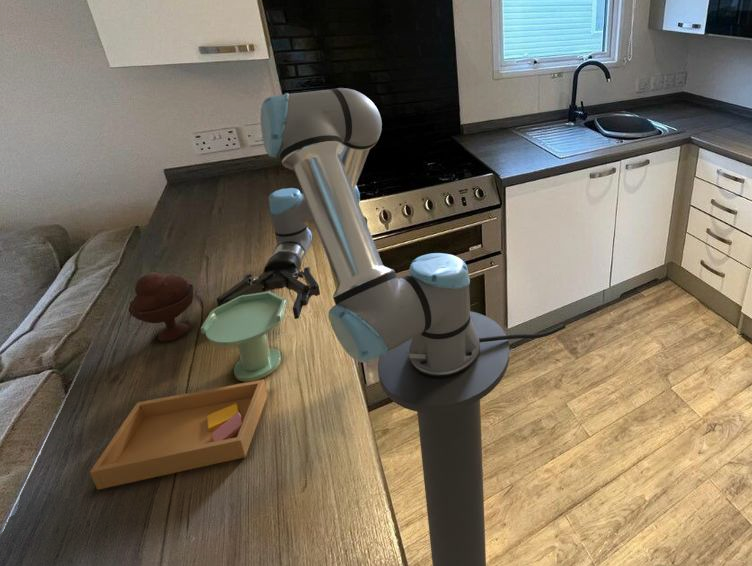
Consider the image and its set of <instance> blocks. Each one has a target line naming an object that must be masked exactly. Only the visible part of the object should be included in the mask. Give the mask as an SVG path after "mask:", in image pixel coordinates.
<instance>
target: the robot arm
mask: <svg viewBox="0 0 752 566" xmlns="http://www.w3.org/2000/svg"><path fill="white" fill-rule="evenodd" d="M259 117H260V129H261V130H260V131H261V136H262V142H263V143H262V144H263V147H264V151H265V152H266V153H267V156H268V157H270V158H278V157H279V160H280V161H281V164H282V166H283V167H284V168H286V169H288V170H291V171H293V172H294V174H295V176H296V179H297V181H298V184H299V186H300V189H301V191H300V190H299V189H298V188H296V187H295V188H294V187H288V188H281V189H277V190H275V191H274V192H272V193H271V194H270V195H269V196H268V206H269V213H270V217H271V220H272V223H273V229H274V236H275V241H276V246H275V248H274V249H273V250H272V253H271V254H270V257H269V259H268V261H267V262H266V264H265V266H264V268H263V272H262V273H261V274H260V275H259V276H253V274H251V273H249V274H247V275H245V277H244V278H243V279H242V280H240V281H239V282H237V284H235V285H234V286H231V288H229V289H228V290H226V291H225V292H224V293H222V294H221V295H220V296H218V297H216V299H215V300H216V303H217V307H219V306H221V305H223V304H225V303H227V302H229V301H231V300H233V299H235V298H237V297H239V296H241V295H248V294H255V293H262V292H269V291H272V290H280V289H284V288H286V289H288V290H289V291H293V292H295V293H296V294H297V295H296V298H295V300H294V304H293V306H292V312H293V317H294V320H298V319H299V318H300V316H301V312H302V310H303V307H304V306H308V304H309V302H310V299H311V298H312V297H313V296H315V297H318V296H320V295H321V290H320V285H319V283H318V282H317V280H316V279H315V278H314V276H313V275H312V273H311V269H310V267H309V266H307V267H304V268H303V270H301V268H302V266H303V263H304V260H305V258H306V255H307V253H308V251H309V249H310V247H311V244H312V239H313V232H312V230H310V229H309V228H308V227H307V222H308V221H312V220H313V223H314V226H315V229H316V231H317V234H318V237H319V239H320V242H321V244H322V247H323V249H324V253H325V255H326V257H327V260H328V263H329V266H330V268H331V271H332V273H333V276H334V278H335V282H336V283H337V285H336V289H335V291H334V293H333V295H332V299H333V301H334V305H332V307H331V308H330V309H329V310H328V319H329V321H330V326H331V329H332V330H333V333H334V335H335V337H336V339H337V340H338V342H339V344H340V345H341V347H342V348H343V350H344V351H345V352H346V354H347V355H348V356H350V358H352V359H353V360H354V361H355V362H358V363H361V364H362V363H363V364H364V363H369V362H371V361H373V360H375V359H377V358H379V356H381V355H385V354H387V353H388V351H390V350H392V349H394V348H396V347H397V346H399V345H401V344H403V343H405V342H406V341H408V340H410V339H412V341H411V345H410V349H409V358H410V362H411V365H412V367H413V368H414V370H415V371H416V372H418V373H419V374H421V375H423V376H425V377H429V378H435V379H443V378H449V377H453V376H456V375H459V374H461V373H463V372H464V371H466V370H467V369H469V368H470V367H471V366H472V365H473V364H474V363H475V361H476V360H477V358H478V356H479V353H480V342H488V341H498V340H507V339H508V340H516V339H517V340H519V339H520V340H521V339H541V338H545V337H548V336H552V335H554V334H556V333H558V332H561V331H562V330H565V329H566V324H560V325H558V326H556V327H554V328H553V329H550V330H548V331H544V332H539V333H516V334H506V335H504V336H494V337H484V338H479V337H478V334H477V332H476V330H475V327H474V325H473V323H472V321H471V318H470V311H471V295H470V284H471V279H470V274H469V268H468V265H467V264H466V262H465V261H464V260H463V259H461V258H460V257H458V256H457V255H454V254H451V253H450V254H449V253H442V252H433V253H427V254H423V255H420V256H417V257H416V258H415V259H414V260H412V262H411V264H410V266H409V273H408V274H406V275H404V276H401V277H397V274H396V273H397V272H396V271H395V269H394V268H390V267H388V266H385V265H384V264H383V261H382V259H381V257H380V253H379V251H378V249H377V246H376V243H375V241H374V239H373V236H372V233H371V230H370V229H369V226H368V224H367V221H366V219H365V216H364V214H363V212H362V208H361V206H360V202H361V194H360V191H359V188H358V185H357V184H358V181H359V179H360V176H361V175H362V171H363V169H364V165H365V163H366V161H367V157H368V155H369V154H370V153H369V152H370V150H371V149H372V148H373V147H375V146H376V145H377V143H378V141H379V139H380V136H381V133H382V129H383V128H382V126H383V122H382V117H381V114H380V111H379V109H378V108H377V106H376V105H375V103H374V102H373V101H372V99H370V98H369V97H367V96H366V95H365V94H363V93H361V92H360V91H357V90H355V89H351V88H347V87H346V88H344V87H338V88H330V89H320V90H313V91H303V92H294V93H288V92H285V93H284V94H278V95H271V96H268V97H266V98H265V99H264V100H263V102H262V103H261V106H260V116H259ZM301 192H302V193H301ZM299 278H301V279H302V281H300V280H299ZM303 281H304V282H305V283H304V282H303Z"/></svg>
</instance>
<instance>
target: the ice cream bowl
mask: <svg viewBox="0 0 752 566" xmlns="http://www.w3.org/2000/svg"><path fill="white" fill-rule="evenodd" d="M134 292H135V296H134V297H133V299H132V300H130V302H129V307H128V312H129V314H130V315H131V316H132V318H135V319H136V320H139V321H142V322H145V323H148V324H160V323H164V324H165V327H164V328H162V329H161V331H159V332H158V335H157V336H158V337H157V340H158V341H160V342H163V343H164V342H169V341H175V340H176V339H179V338H181V337H183V336H184V335H186V333H188V332H189V330H190V329H189V328H190V325H189V324H187V323H184V322H176V318H178V317H179V316H181V315H182V314H183V313H184V312H185V311H187V310H188V308H189V307H190V306H191V305H192V303H193V300H194V285H193V284H191V283H189V282H188V280H187V279H185V278H184V277H182V276H180V275H174V274H172V275H171V274H170V275H166V274H165V273H162V272H155V271H154V272H153V271H152V272H149V273H146V274H144V275H142V276H141V277H140V278H139V279H138V280H137V281H136V284H135V288H134Z"/></svg>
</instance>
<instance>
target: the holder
mask: <svg viewBox="0 0 752 566" xmlns="http://www.w3.org/2000/svg"><path fill="white" fill-rule="evenodd" d="M268 394H269V393H268V389H267V385H266V382H265V379H263V378H262V379H258V380H255V381H250V382H243V383H236V384H231V385H226V386H220V387H215V388H209V389H203V390H197V391H193V392H188V393H182V394H176V395H171V396H165V397H159V398H154V399H148V400H143V401H138V402H136V403H135V405H134V407H133V408H132V409H131V411H130V412H129V414H128V415H127V417H126V418H125V420H124V421H123V423H122V424H121V425H120V427H119V428H118V430H117V431H116V432H115V434H114V436H113V437H112V439H111V440H110V442H109V443H108V444H107V446H106V447H105V449H104V450H103V452H102V453H101V455H100V456H99V458H98V459H97V461H96V462H95V463H94V465H93V467H92V468H91V470H90V471H89V474H90V476H91V478H92V480H93V482H94V485H95V488H96V489H97V490H103V489H108V488H112V487H117V486H122V485H126V484H130V483H134V482H139V481H143V480H149V479H153V478H158V477H162V476H167V475H172V474H175V473H180V472H184V471H185V472H186V471H190V470H194V469H199V468H204V467H207V466H212V465H216V464H221V463H226V462H229V461H234V460H238V459H243V458H246V457H247V454H248V451H249V448H250V445H251V443H252V440H253V437H254V435H255V431H256V429H257V426H258V423H259V421H260V418H261V415H262V413H263V410H264V407H265V404H266V401H267V398H268ZM235 403H237V406H238V411H239V413H240V414H241V416H242V419H243V423H242V425H241V428H240V430H239V431H238V432H237V433H236V434H235V435H233V436H232V437H231V438H230V439H226V440H221V441H217V442H214V440H213V437H212V432H214V431H215V430H216V429H214V430H212V431H210V432H209V430H208V424H207V415H210V414H212V413H214V412H217V411H219V410H221V409H223V408H226V407H228V406H230V405H232V404H235Z"/></svg>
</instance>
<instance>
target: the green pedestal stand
mask: <svg viewBox="0 0 752 566" xmlns="http://www.w3.org/2000/svg"><path fill="white" fill-rule="evenodd" d="M287 305H288V304H287V299H286V298H284V297H282V296H280V295H278V294H276V293H274V292H272V291H266V292H262V293H255V294H248V295H241V296H239V297H237V298H235V299H233V300H231V301H229V302H227V303H225V304H223V305H221V306H219V307H218V306H217V307H215V308H214V309H212V310H211V311H210V312H209V314H208V316H207V317H206V319H205V320H204V322H203V323H202V325H201V327H200V332H201V334H205V337H206V339H207V341H208V342H209V343H211V344H213V345H214V346H215V345H216V346H221V347H229V346H230V347H231V346H236V348H237V352H238V355H239V360H238V361H237V363H236V364H235V366H234V369H233V373H234V378H236V379H237V380H238V381H240V382H243V383H247V382H252V381H258V380H262V379H263V378H266V377H267V376H269V375H271V374H272V373H273V372H275V371H276V369H277V368H278V367H279V365H280V364H281V361H282V357H281V353H280V351H279V350H278V349H276V348H273V347H270V344H269V339H268V336H267V334H269V333H270V332H271V331H273V330H274V329H276V327H278V326H279V325H280V324H281V323H282V322H283V319H284V318H285V317H286V316H285V315H286V308H287Z"/></svg>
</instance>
